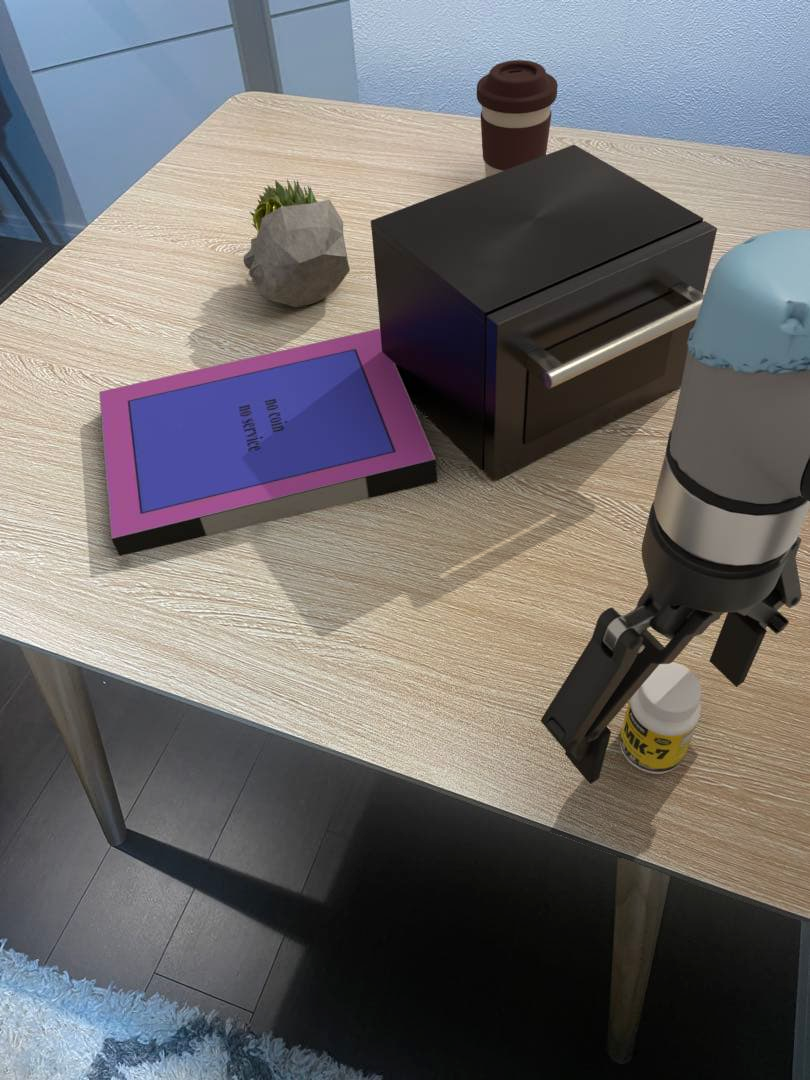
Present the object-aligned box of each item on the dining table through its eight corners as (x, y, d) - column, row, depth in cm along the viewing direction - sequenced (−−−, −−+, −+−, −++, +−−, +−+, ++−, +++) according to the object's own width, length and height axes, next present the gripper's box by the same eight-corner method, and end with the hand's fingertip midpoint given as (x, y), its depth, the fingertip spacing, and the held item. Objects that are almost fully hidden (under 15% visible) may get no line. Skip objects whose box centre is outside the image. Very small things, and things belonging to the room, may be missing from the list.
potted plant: (244, 311, 101) (194, 220, 107) (324, 334, 111) (274, 249, 117) (309, 229, 95) (252, 136, 101) (387, 260, 105) (331, 175, 111)
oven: (670, 377, 95) (703, 218, 82) (482, 471, 87) (484, 312, 74) (560, 297, 105) (574, 144, 92) (383, 375, 98) (370, 220, 84)
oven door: (709, 405, 92) (750, 246, 78) (518, 505, 84) (527, 347, 71) (671, 377, 95) (704, 220, 82) (483, 472, 87) (485, 315, 74)
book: (99, 391, 94) (379, 328, 98) (108, 413, 97) (382, 350, 100) (111, 538, 81) (435, 459, 84) (121, 560, 83) (437, 481, 87)
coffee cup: (535, 211, 118) (542, 92, 107) (464, 198, 121) (464, 81, 110) (560, 176, 124) (569, 59, 113) (492, 164, 127) (494, 50, 116)
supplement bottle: (606, 750, 68) (620, 689, 61) (640, 707, 70) (657, 644, 63) (664, 788, 65) (685, 729, 59) (697, 742, 68) (720, 681, 61)
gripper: (828, 391, 55) (744, 602, 71) (491, 575, 47) (482, 766, 63) (936, 463, 51) (820, 670, 67) (586, 679, 43) (550, 856, 59)
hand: (656, 717), depth 65 cm, fingers open, 13 cm apart
